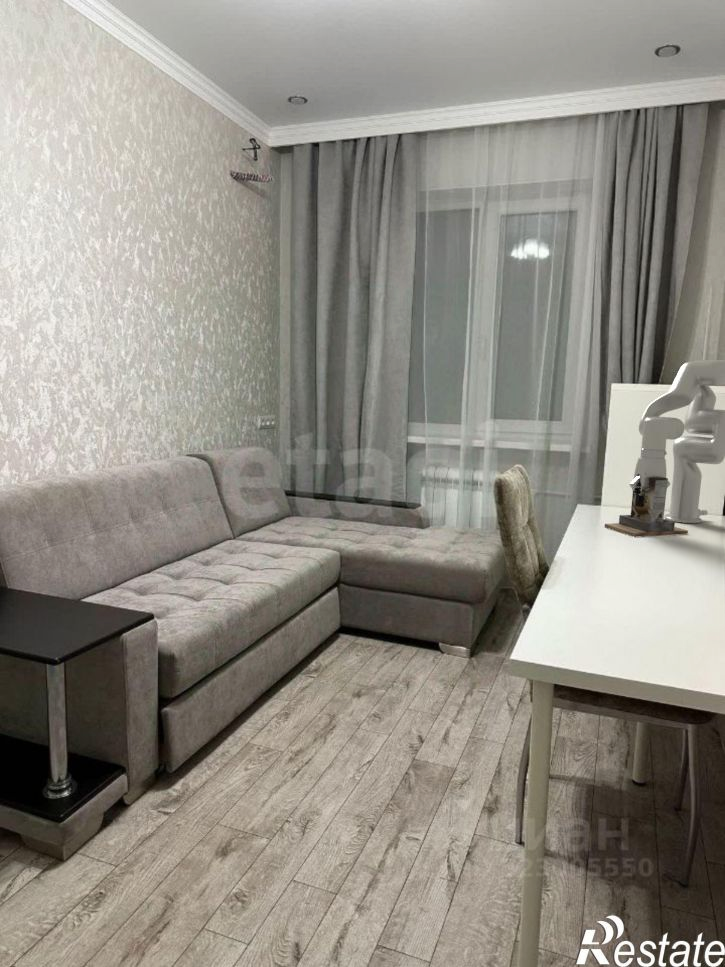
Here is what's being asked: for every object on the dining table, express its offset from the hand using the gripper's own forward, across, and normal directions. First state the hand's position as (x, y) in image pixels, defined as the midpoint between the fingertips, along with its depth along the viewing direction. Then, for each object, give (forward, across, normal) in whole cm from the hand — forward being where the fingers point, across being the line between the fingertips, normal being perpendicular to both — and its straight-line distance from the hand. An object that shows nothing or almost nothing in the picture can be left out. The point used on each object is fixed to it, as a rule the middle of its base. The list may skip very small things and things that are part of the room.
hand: (648, 505), depth 224 cm
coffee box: (+6, 0, 0) cm, 6 cm away
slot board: (+9, 0, 0) cm, 9 cm away
